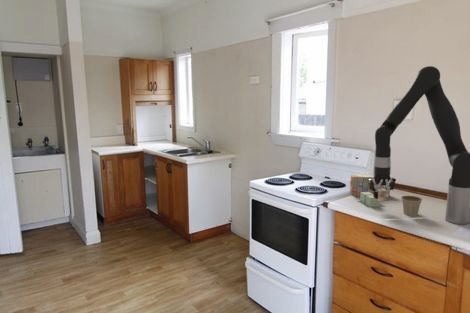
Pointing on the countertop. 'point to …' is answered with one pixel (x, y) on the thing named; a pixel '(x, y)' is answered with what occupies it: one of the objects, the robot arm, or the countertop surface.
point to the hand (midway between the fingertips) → (381, 198)
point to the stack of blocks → (361, 184)
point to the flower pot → (411, 205)
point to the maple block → (383, 195)
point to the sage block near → (371, 201)
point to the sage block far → (364, 196)
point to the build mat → (370, 207)
